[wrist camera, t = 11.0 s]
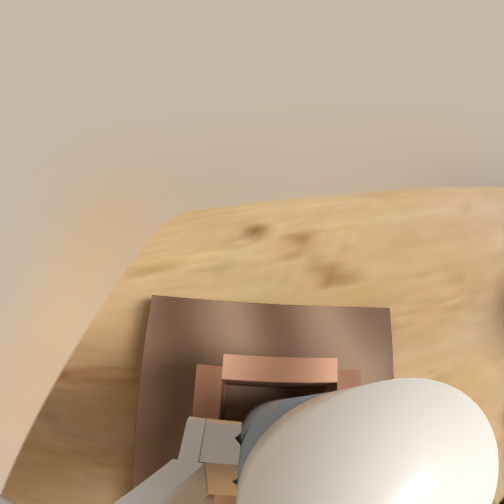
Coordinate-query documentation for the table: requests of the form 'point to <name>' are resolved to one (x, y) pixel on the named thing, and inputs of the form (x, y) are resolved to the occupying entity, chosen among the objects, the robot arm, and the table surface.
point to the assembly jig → (245, 364)
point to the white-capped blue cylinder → (369, 447)
